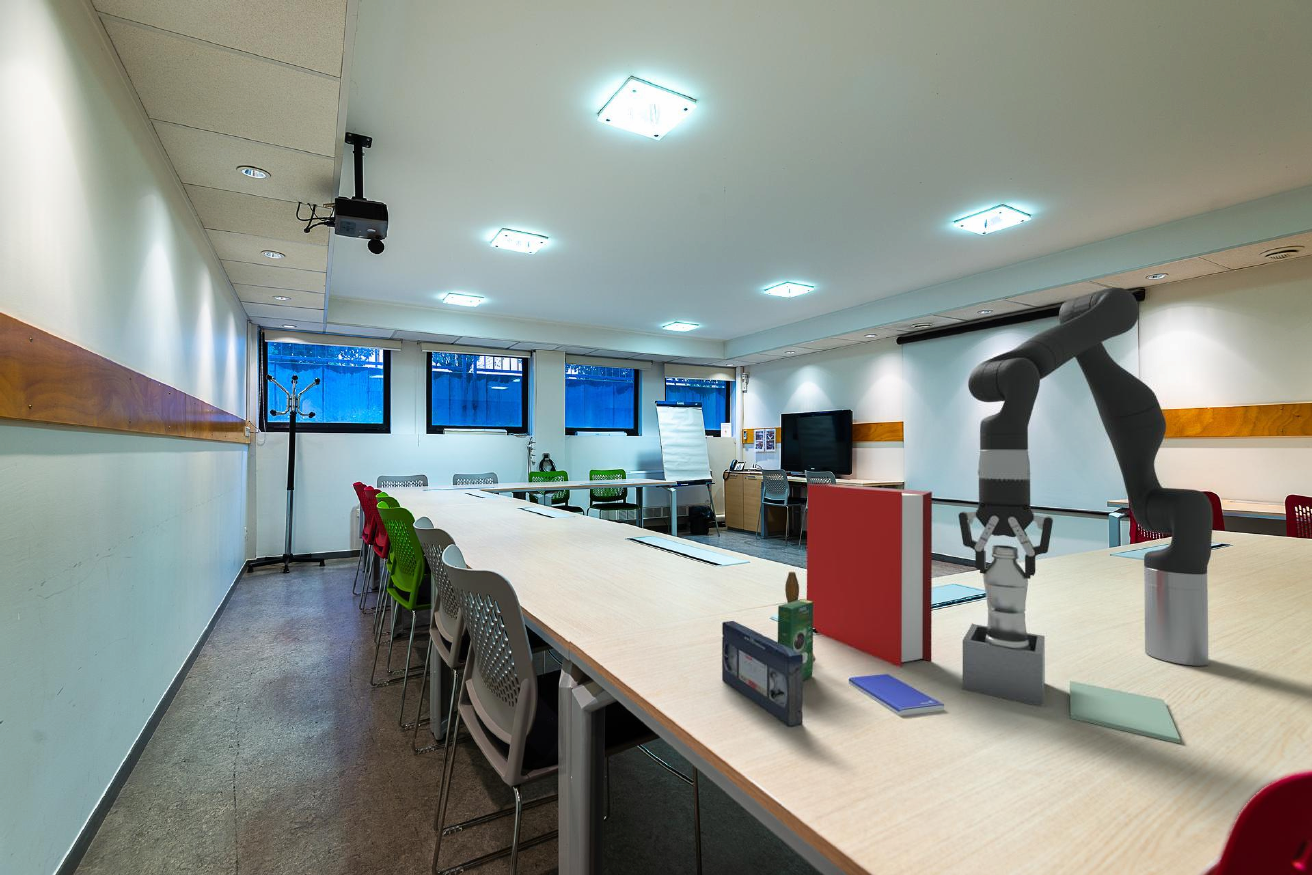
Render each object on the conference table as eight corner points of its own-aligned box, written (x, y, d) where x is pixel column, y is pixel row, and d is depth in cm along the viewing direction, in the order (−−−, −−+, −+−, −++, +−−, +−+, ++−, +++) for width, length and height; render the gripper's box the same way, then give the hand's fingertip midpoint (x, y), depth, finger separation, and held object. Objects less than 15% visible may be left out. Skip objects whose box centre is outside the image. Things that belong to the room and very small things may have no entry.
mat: (1069, 684, 97) (1069, 680, 97) (1163, 703, 90) (1163, 699, 90) (1070, 718, 84) (1070, 714, 84) (1180, 743, 77) (1180, 738, 77)
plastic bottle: (1038, 674, 92) (1035, 550, 93) (992, 671, 93) (990, 549, 94) (1021, 660, 98) (1019, 544, 99) (978, 657, 100) (976, 543, 100)
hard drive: (944, 702, 86) (889, 673, 98) (899, 708, 84) (848, 677, 96) (944, 713, 86) (889, 682, 98) (899, 719, 84) (848, 686, 96)
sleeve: (972, 667, 104) (972, 623, 104) (1044, 682, 97) (1044, 635, 98) (962, 688, 94) (962, 640, 94) (1042, 707, 88) (1042, 654, 88)
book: (931, 661, 107) (931, 491, 108) (900, 667, 103) (901, 492, 104) (829, 622, 131) (830, 484, 133) (802, 625, 128) (803, 484, 129)
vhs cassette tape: (720, 680, 96) (721, 621, 96) (735, 678, 97) (736, 619, 98) (786, 729, 79) (787, 657, 80) (803, 725, 80) (804, 654, 81)
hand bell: (798, 667, 102) (799, 578, 103) (761, 654, 109) (762, 571, 109) (823, 657, 108) (824, 573, 108) (787, 645, 114) (788, 566, 115)
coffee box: (799, 671, 100) (800, 597, 101) (814, 676, 98) (814, 600, 99) (775, 684, 95) (776, 605, 95) (790, 689, 93) (791, 608, 93)
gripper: (1055, 477, 96) (1056, 577, 95) (959, 474, 104) (960, 566, 104) (1055, 478, 90) (1056, 585, 89) (953, 475, 98) (954, 573, 98)
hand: (1004, 574), depth 96 cm, fingers closed on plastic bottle, 6 cm apart
